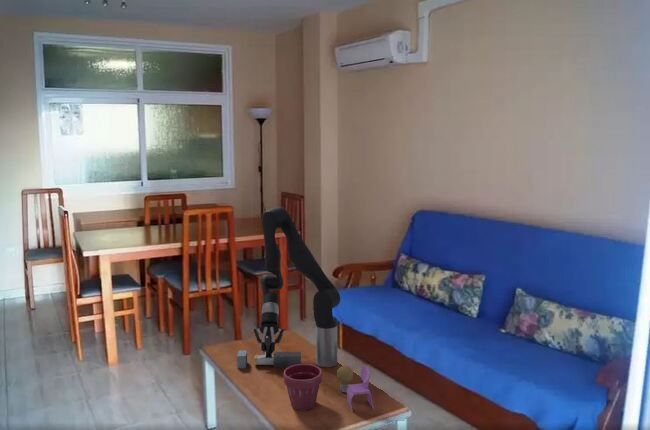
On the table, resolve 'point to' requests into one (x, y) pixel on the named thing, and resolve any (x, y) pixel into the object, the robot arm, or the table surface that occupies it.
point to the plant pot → (303, 385)
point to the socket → (242, 359)
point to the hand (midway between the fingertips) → (267, 351)
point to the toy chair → (360, 387)
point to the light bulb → (344, 377)
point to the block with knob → (268, 356)
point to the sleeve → (286, 359)
